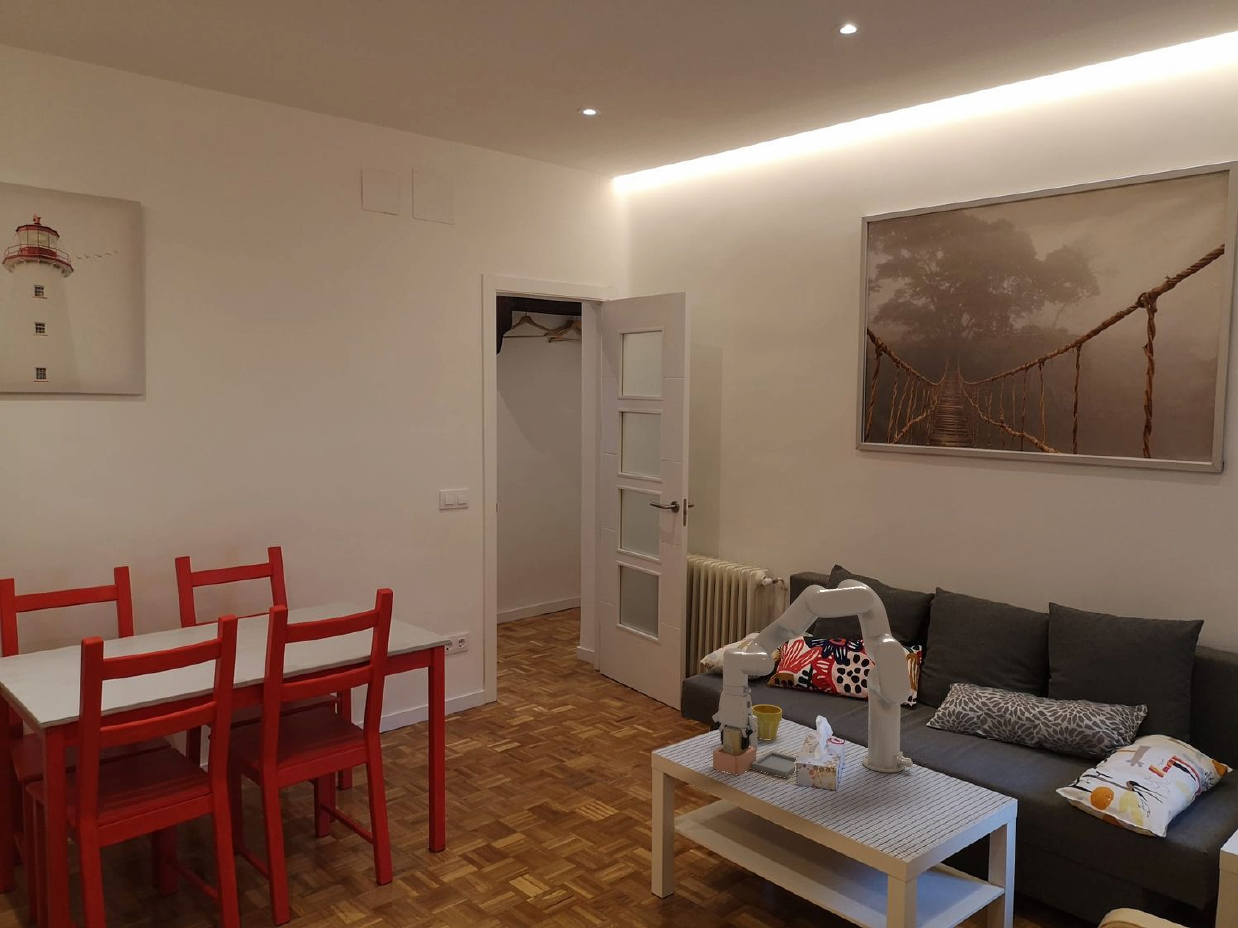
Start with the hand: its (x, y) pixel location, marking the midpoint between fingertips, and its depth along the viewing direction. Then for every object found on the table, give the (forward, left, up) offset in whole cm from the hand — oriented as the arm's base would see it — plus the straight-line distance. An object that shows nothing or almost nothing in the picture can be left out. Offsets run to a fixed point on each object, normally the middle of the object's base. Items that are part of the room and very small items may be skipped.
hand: (734, 745), depth 273 cm
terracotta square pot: (0, 0, -7) cm, 7 cm away
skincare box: (0, 0, -7) cm, 7 cm away
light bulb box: (+8, -18, -7) cm, 21 cm away
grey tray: (-11, -8, -7) cm, 15 cm away
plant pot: (+5, -30, -7) cm, 31 cm away
